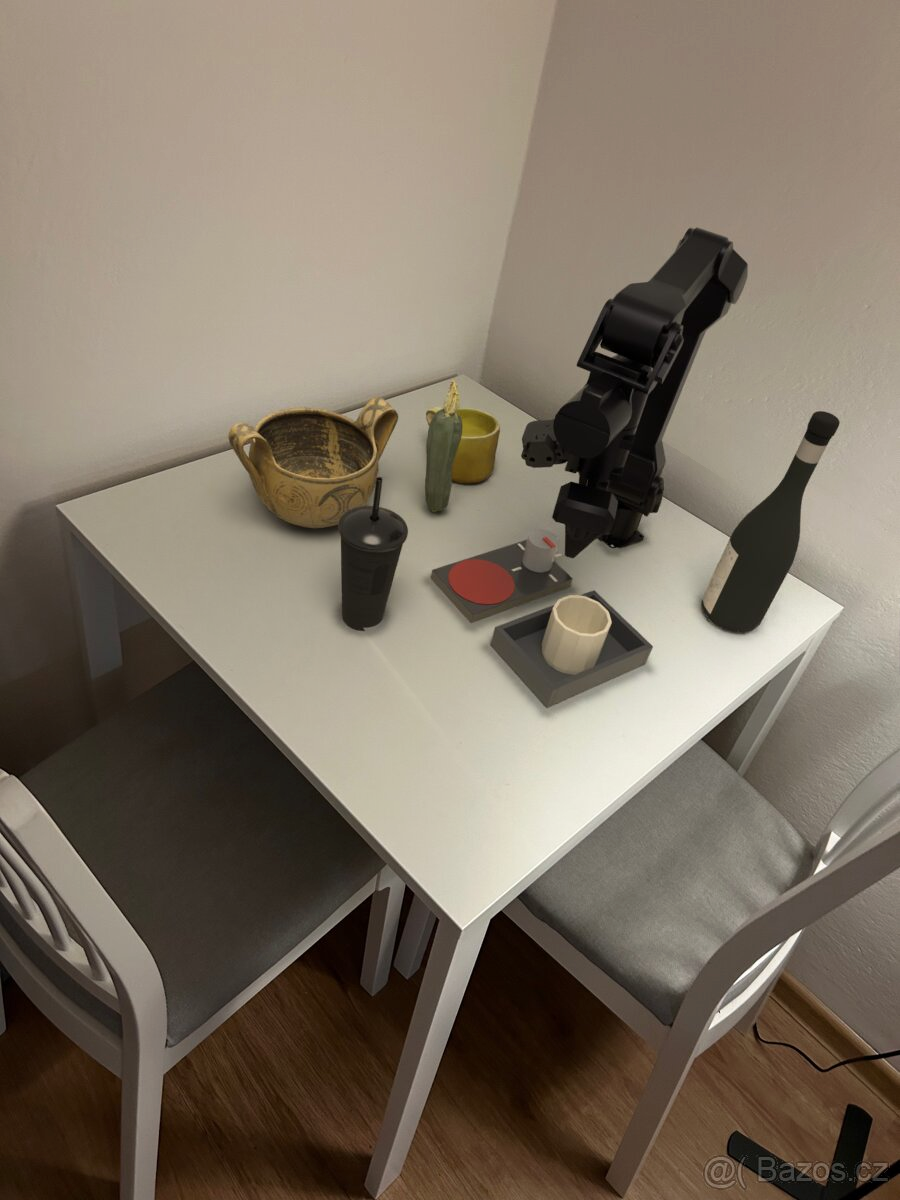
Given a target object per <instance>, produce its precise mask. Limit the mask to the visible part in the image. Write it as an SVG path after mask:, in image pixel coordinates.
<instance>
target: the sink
mask: <svg viewBox="0 0 900 1200" xmlns="http://www.w3.org/2000/svg"><path fill="white" fill-rule="evenodd" d="M579 596H586V597H588V598H590V599H593V600H595V601H597V602H599V603H600V604H601V605H602V606H603V607H604V608H605V609H606V610H608V612H609V614H610V618H611V621H612V623H611V626H610V629H609V631H608V634H607V637H606V639H605V642H604V645H603V647H602V650H601V652H600V655H599V658H598V660H597V662H596V664H595V666H594V667H592V668H590V669H587V670H585V671H583V672H580V673H578V674H576V675H572V674H566V673H563V672H560V671H558V670H556V669H554V668H553V667H552V666H550V665H549V664H548V663H547V662H546V660H545V659H544V657H543V654H542V645H541V644H542V641H543V638H544V635H545V631H546V628H547V625H548V622H549V619H550V615H551V612H552V609H553V607H554V605H555V604H553V605H550V606H548V607H544V608H542V609H539V610H537V611H533V612H532V613H528V614H526V615H523V616H521V617H517V618H515V619H513V620H510V621H506V622H504V623H502V624H499V625H496V626H495V627H494V629H493V633H492V636H491V641H490V645H489V646H490V647H491V648H492V649H493V651H494V652H496V654H497V655H498V656H499V657H500V658H501V659H502V660H503V662H504V663H506V665H507V666H508V667H509V669H511V671H512V672H513V673H514V674H515V675H516V676H517V678H518V679H520V680H521V682H522V683H523V684H524V685H525V687H527V688H528V690H529V691H530V692H531V693H532V694H533V695H534V696H535V698H537V700H538V701H539V702H540V703H541V704H542V705H543V706H544V707H545V709H549V708H550V707H553V706H555V705H559V704H560V703H562V702H565V701H566V700H568V699H571V698H573V697H575V696H578V695H580V694H582V693H584V692H587V691H589V690H592V689H593V688H595V687H598V686H600V685H603V684H604V683H605V684H606V683H607V682H609V681H612V680H613V679H616V678H618V677H621V676H622V675H625V674H627V673H629V672H631V671H633V670H636V669H639V668H640V667H642V666H645V665H647V662H648V660H649V657H650V655H651V653H652V650H653V648H654V645H652V644H651V642H649V641H648V640H647V639H646V638H645V637H644V636H643V635H642V634H641V633H640V632H639V631H638V630H637V629H636V628H634V627H633V625H632V624H630V622H629V621H627V620H626V619H625V618H624V617H623V616H622V615H621V614H620V613H619V612H618V611H617V610H616V609H615V608H613V606H612V605H611V604H610V603H608V602H607V601H606V599H604V598H603V597H602V596H601V595H600V594H599V593H598V592H597V591H596V590H594V589H593V590H591V591H588V592H585V593H582V594H580V595H579Z"/></svg>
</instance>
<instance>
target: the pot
mask: <svg viewBox="0 0 900 1200" xmlns="http://www.w3.org/2000/svg"><path fill="white" fill-rule="evenodd" d="M553 605H554V607H553V609H552V612H551V615H550V619H549V622H548V625H547V628H546V631H545V635H544V638H543V641H542V644H541V645H542V654H543V657H544V659H545V660H546V662H547V663H548V664H549V665H550V666H552V667H553V668H554V669H556V670H558V671H560V672H563V673H566V674H572V675H576V674H578V673H580V672H583V671H585V670H587V669H590V668H592V667H594V666H595V664H596V662H597V660H598V658H599V655H600V652H601V650H602V647H603V645H604V642H605V639H606V637H607V634H608V631H609V629H610V626H611V623H612V621H611V618H610V614H609V612H608V610H606V609H605V608H604V607H603V606H602V605H601V604H600V603H599V602H597V601H595V600H593V599H590V598H588V597H586V596H580V595H576V594H568V595H566V596H563V597H561V598H558V599H557V601H556V602H555V604H553Z"/></svg>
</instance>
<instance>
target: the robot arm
mask: <svg viewBox="0 0 900 1200" xmlns="http://www.w3.org/2000/svg"><path fill="white" fill-rule="evenodd" d="M748 267H749V264H748V262H747V261H746V260H745V259H744V258H743V257H742V256H741V255H740V254H739V253H738V252H737V251H736V250H735V249H734V242H733V241H731V240H729V238H728V237H727V236H725V235H721V234H718V233H714V232H712V231H710V230H706V229H704V228H700V227H698V226H697V227H695V228H693V227H689V228H688V229H687V230H686V231H685V233H684V235H683V237H682V239H680V240H679V241H678V243H677V246H676V248H675V250H674V252H673V253H672V254H671V255H670V256H669V258H668V259H667V260H666V261H665V262H664V263H663V264H662V265H661V267H660V268H659V269H658V270H657V271H656V272H655V274H653V276H651V278H650V279H649V280H648V281H642V282H634V283H633V282H632V283H629V284H628V285H626V286H625V287H624V288H622V289H620V291H618V292H617V293H616V294H615V295H614V297H612V298H609V299H607V301H605V303H604V304H603V307H602V309H601V311H600V313H599V314H598V317H597V319H596V321H595V323H594V324H593V325H594V326H593V327H592V329H591V332H590V334H589V336H588V338H587V341H586V343H585V344H584V347H583V348H582V350H581V353H580V356H579V358H578V360H577V362H576V367H577V368H580V369H582V370H584V371H587V372H589V375H588V378H587V381H586V383H585V384H584V385H583V387H582V388H581V389H580V390H578V391H577V392H576V393H575V394H574V395H573V396H572V397H571V398H569V400H568V401H567V402H565V404H563V405H562V406H561V407H560V408H559V410H558V411H557V412H556V414H555V415H554V418H553V419H540V420H532V421H530V422H528V423H527V424H526V426H525V429H524V431H523V435H522V437H521V443H522V452H521V453H520V457H521V459H522V460H523V461H524V463H525V465H526V466H527V467H530V468H533V469H536V468H539V469H541V468H552V467H554V466H555V465H564V464H565V468H564V472H568V473H571V474H577V473H578V475H579V476H578V482H575V481H569V482H567V483H564V484H563V485H561V486H560V488H559V491H558V495H557V497H556V502H555V505H554V508H553V512H552V515H551V518H552V520H553V521H555V523H558V524H562V525H564V556H565V557H566V558H569V559H575V558H577V556H578V555H579V554H580V553H582V552H583V551H584V550H586V548H588V547H589V545H591V544H592V543H593V542H595V541H596V540H597V539H599V540H600V541H602V542H603V543H604V544H606V545H607V546H608V547H609V548H610V549H616V548H617V549H623V548H624V547H627V546H630V545H633V544H635V543H639V542H643V540H644V538H645V536H644V535H643V534H642V533H641V532H640V531H639V530H638V529H639V526H640V523H641V521H642V518H643V517H646V518H648V517H649V516H650V514H657V513H658V512H659V510H660V507H661V505H662V501H663V496H664V490H665V481H664V480H665V479H664V477H662V473H663V470H664V468H665V465H666V462H667V459H666V454H665V449H664V444H663V443H664V442H663V438H664V436H665V433H666V431H667V428H668V426H669V423H670V421H671V418H672V416H673V413H674V411H675V408H676V406H677V404H678V401H679V399H680V396H681V395H682V394H681V393H682V391H683V389H684V386H685V384H686V381H687V379H688V376H689V374H690V372H691V369H692V367H693V364H694V361H695V359H696V356H697V354H698V352H699V349H700V347H701V344H702V342H703V339H704V337H705V335H706V332H707V331H708V330H709V329H710V328H711V327H713V326H714V325H716V324H717V323H718V322H719V321H720V320H721V319H722V318H724V317H725V316H727V314H728V313H729V310H730V308H731V306H732V305H736V304H737V302H738V300H739V299H740V297H741V295H742V292H743V291H744V288H745V285H746V283H747V279H748V274H749V272H748V271H749V270H748V269H749V268H748ZM598 347H600V349H603V350H605V351H608V352H610V353H612V354H615V355H613V356H609V355H606V354H604V353H601V352H599V351H597V349H598Z"/></svg>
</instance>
